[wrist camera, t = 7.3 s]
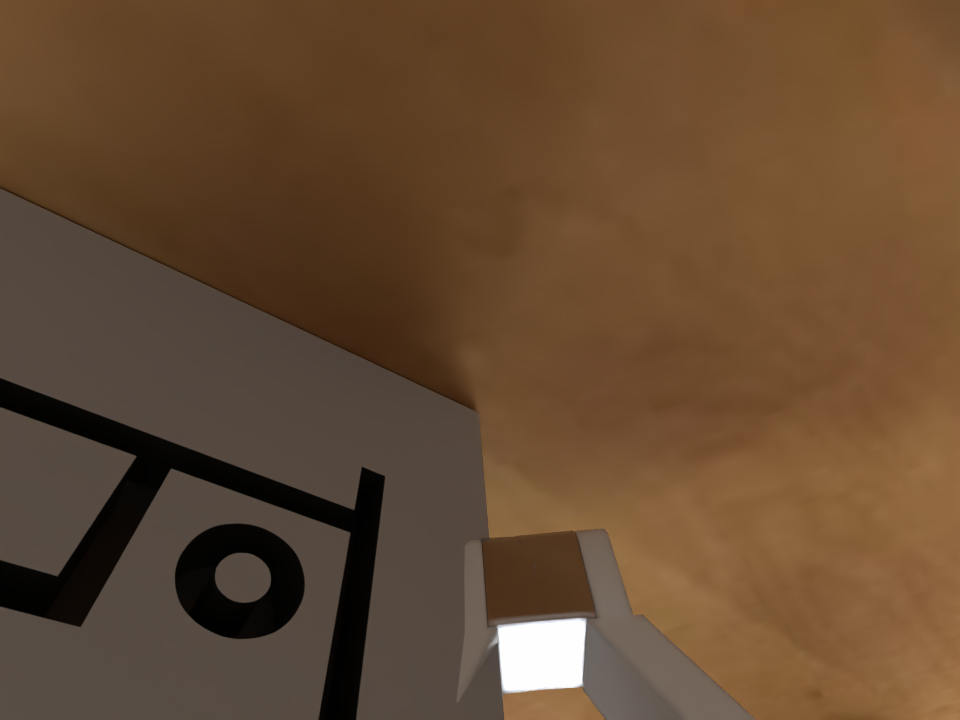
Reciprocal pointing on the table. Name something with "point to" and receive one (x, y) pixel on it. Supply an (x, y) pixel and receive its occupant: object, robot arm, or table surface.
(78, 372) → the icon cube
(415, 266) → the table surface
